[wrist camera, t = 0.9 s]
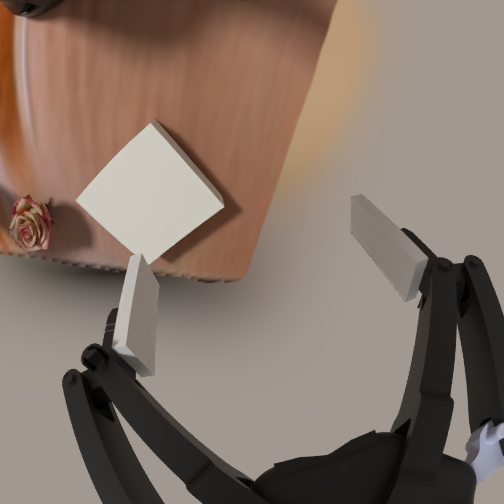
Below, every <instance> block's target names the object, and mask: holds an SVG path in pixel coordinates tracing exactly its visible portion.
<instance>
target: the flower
mask: <svg viewBox="0 0 504 504" xmlns="http://www.w3.org/2000/svg"><path fill="white" fill-rule="evenodd" d="M29 198H30V199H29ZM49 203H50V202H49ZM49 203H48V204H43V203H41V205H40V204H38V202H37V204H36V203H35V202H34V201H33V200H32V198H31V197H30V195H27V196H26V197H25V198H22V199H21V201H20V200H18V201H16V203H14V207H13V208H12V210H11V214H12V218H13V220H12V222H11V224H10V225H11V226H9V229H12V230H11V231H9V235H11V236H13V237H14V238H15V243H16V244H18V245H19V246H20V247H23V249H24V250H25V251H26V252H27V253H28V254H29V253H31V252H34V251H37V250H40V249H45V250H46V249H47V248H48V245H49V240H50V237H51V226H52V225H51V224H54V222H53V221H52V220H51V217H52V216H51V217H50V214H49V208H48V205H49ZM57 227H58V226H57ZM58 228H60V227H58Z"/></svg>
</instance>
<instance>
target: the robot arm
mask: <svg viewBox="0 0 504 504" xmlns="http://www.w3.org/2000/svg"><path fill="white" fill-rule="evenodd" d="M0 1H1V2H2V3H3V4H4V6H5V7H6V8H7V9H8V10H9V11H10V12H11V13H12V14H14V15H18V16H23V17H31V16H36V15H39V14H41V13H43V12H45V11H47V10H49V9H51V8H52V7H54V6H55V5H57V4H58V3H59V2H61V1H62V0H0ZM351 234H352V235H353V236H354V237H355V239H356V240H357V241H358V242H359V243H360V244H361V246H362V247H363V248H364V249H365V251H366V252H367V253H368V254H369V256H370V257H371V258H372V259H373V261H374V262H375V263H376V264H377V266H378V267H379V268H380V270H381V271H382V272H383V273H384V275H385V276H386V277H387V279H388V280H389V281H390V283H391V284H392V285H393V287H394V288H395V289H396V291H397V292H398V293H399V295H400V296H401V297H402V299H403V300H404V301H405V302H407V301H409V300H411V299H414V298H416V295H417V293H418V290H419V291H420V292H421V293H422V296H421V299H420V302H419V304H418V307H417V308H419V307H420V311H419V320H418V326H417V333H416V340H415V346H414V351H413V357H412V362H411V367H410V371H409V376H408V380H407V384H406V388H405V393H404V396H403V400H402V404H401V407H400V410H399V413H398V415H397V417H396V419H395V421H394V423H393V426H392V428H391V431H390V432H380V433H376V432H375V430H373V431H372V432H369V433H367V434H364V435H362V436H359V437H357V438H355V439H352V440H350V441H349V442H348V443H346V444H344V445H343V446H341V447H340V448H338V449H337V450H335V451H334V452H332V453H330V454H328V455H323V456H313V457H299V458H295V459H291V460H287V461H283V462H279V463H275V464H274V466H275V467H273V468H271V469H269V470H267V471H266V472H264V473H263V474H262V475H261V476H259V477H258V478H257V479H256V480H255V481H254V480H252V479H250V478H249V477H247V476H246V475H245V474H243V473H241V472H240V471H238V470H237V469H235V468H233V467H232V466H230V465H229V464H227V463H226V462H225V461H223V460H222V459H221V458H219V457H218V456H217V455H216V454H214V453H213V452H212V451H211V450H210V449H208V448H207V447H206V446H204V445H203V444H202V443H201V442H200V441H198V439H196V438H195V437H194V436H193V435H192V434H190V433H189V432H188V431H187V430H186V429H185V428H184V427H183V426H182V425H181V424H180V423H179V422H177V421H176V420H175V419H174V418H173V417H172V416H171V415H170V414H169V413H168V412H167V411H166V410H165V409H164V408H163V407H162V406H161V405H160V404H159V403H158V402H157V401H156V400H155V399H154V398H153V397H152V396H151V394H150V393H149V392H148V391H147V390H146V389H145V388H144V387H143V386H142V385H141V384H140V383H139V381H138V380H136V372H137V373H138V374H139V375H140V376H141V377H146V376H152V375H155V341H156V322H157V306H158V294H159V284H158V282H157V280H156V278H155V276H154V275H153V273H152V271H151V269H150V267H149V265H148V264H147V262H146V260H145V258H144V256H143V254H142V253H139V254H136V255H133V256H131V257H130V261H129V265H128V269H127V273H126V277H125V282H124V286H123V290H122V295H121V299H120V304H119V308H115V309H112V311H111V313H110V314H109V316H108V319H107V324H106V325H107V326H106V329H105V334H104V339H103V345H102V346H100V345H99V344H95V343H94V344H91V345H89V346H88V347H86V349H85V350H84V351H83V353H82V356H81V361H82V364H83V365H84V366H85V367H86V368H88V370H86V371H84V372H82V373H80V372H79V371H78V370H76V369H71V370H69V371H68V372H66V374H65V375H64V377H63V380H62V386H63V391H64V396H65V399H66V404H67V408H68V412H69V416H70V420H71V423H72V427H73V430H74V434H75V437H76V440H77V443H78V446H79V449H80V452H81V454H82V457H83V460H84V462H85V465H86V468H87V470H88V473H89V474H90V477H91V480H92V482H93V484H94V486H95V489H96V491H97V493H98V495H99V497H100V499H101V501H102V503H103V504H165V503H164V502H163V501H162V499H161V497H160V496H159V494H158V493H157V491H156V490H155V488H154V487H153V485H152V483H151V482H150V480H149V478H148V477H147V475H146V473H145V471H144V470H143V468H142V466H141V464H140V463H139V461H138V458H137V457H136V455H135V453H134V451H133V449H132V447H131V445H130V443H129V441H128V439H127V436H126V434H125V432H124V430H123V428H122V426H121V424H120V421H119V419H118V416H117V414H116V412H115V409H114V407H113V404H114V405H115V406H116V408H117V409H118V410H119V412H120V413H121V414H122V416H123V417H124V418H125V419H126V421H127V422H128V423H129V424H130V426H131V427H132V428H133V429H134V431H135V432H136V433H137V434H138V435H139V436H140V437H141V439H142V440H143V441H144V442H145V443H146V444H147V446H148V447H149V448H150V449H151V450H152V451H153V452H154V453H155V454H156V455H157V456H158V457H159V458H160V459H161V461H163V463H164V464H166V466H167V467H168V468H170V470H172V471H173V472H174V473H175V474H176V475H177V476H178V477H179V478H180V479H181V480H182V481H183V482H184V483H185V484H186V488H187V490H188V491H189V492H190V493H191V494H192V495H193V496H194V497H195V498H197V499H198V500H199V501H200V502H201V503H203V504H473V502H474V494H475V489H476V485H477V484H478V483H479V482H481V481H482V480H484V479H485V478H486V477H488V476H489V475H491V474H492V473H493V472H494V471H496V470H497V469H498V468H499V467H501V466H502V465H503V464H504V315H503V312H502V310H501V306H500V304H499V301H498V298H497V295H496V292H495V290H494V287H493V285H492V282H491V280H490V277H489V275H488V273H487V270H486V268H485V266H484V263H483V262H482V260H481V259H479V258H478V257H476V256H474V255H468V256H466V257H465V259H464V262H463V263H457V264H453V263H452V262H451V261H450V260H448V259H446V258H442V257H439V258H438V257H437V256H436V255H435V254H434V253H433V252H432V251H431V250H430V249H429V248H428V247H427V246H426V245H425V244H424V243H422V241H421V240H420V239H418V237H417V236H416V235H415V234H414V233H413V232H411V231H409V230H408V229H405V228H402V229H399V228H398V227H397V226H396V225H395V224H394V223H393V222H392V221H391V220H390V219H389V218H388V217H387V216H385V215H384V214H383V213H382V212H381V211H380V210H379V209H378V208H377V207H376V206H374V205H373V204H372V203H371V202H370V201H369V200H367V199H366V198H365V197H364V196H363V195H362V194H360V195H356V196H352V197H351ZM457 325H458V330H459V335H460V340H461V346H462V352H463V358H464V366H465V374H466V382H467V395H468V412H469V424H470V430H471V434H472V435H471V436H470V438H469V441H468V442H467V444H466V448H465V449H466V451H467V452H468V454H467V458H466V460H465V462H464V461H462V460H459V459H456V458H453V457H451V456H448V455H446V454H443V450H444V446H445V443H446V439H447V435H448V431H449V426H450V422H451V417H452V413H453V406H454V401H453V399H452V398H451V397H450V393H451V386H452V379H453V371H454V361H455V349H456V330H457ZM112 402H113V404H112Z"/></svg>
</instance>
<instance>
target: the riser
mask: <svg viewBox="0 0 504 504" xmlns="http://www.w3.org/2000/svg"><path fill="white" fill-rule="evenodd" d="M76 201H77V202H78V203H79V204H80V205H81V206H82V207H83V208H84V209H85V210H86V211H87V212H88V213H89V214H90V215H91V216H92V217H93V218H95V219H96V220H97V221H98V222H99V223H100V224H101V225H102V226H103V227H104V228H105V229H106V230H108V231H109V232H110V233H111V234H112V235H113V236H114V237H115V238H116V239H118V240H119V241H120V242H121V243H122V244H123V245H124V246H126V247H127V248H128V249H129V250H130V251H131V252H132V253H134V254H135V255H136V254H139V253H142V254H143V256H144V258H145V260H146V262H147V264H148V265H149V264H150V263H152V262H153V261H154V260H155V259H156V258H158V257H159V256H160V255H162V254H163V253H164V252H165V251H167V250H168V249H169V248H170V247H172V246H173V245H174V244H176V243H177V242H178V241H179V240H181V239H182V238H183V237H185V236H186V235H187V234H189V233H190V232H191V231H192V230H194V229H195V228H196V227H198V226H199V225H200V224H202V223H203V222H204V221H206V220H207V219H208V218H210V217H211V216H213V215H214V214H215V213H217V212H218V211H219V210H221V209H222V208H223V207H224V202H223V198H222V195H221V194H220V193H219V192H218V190H217V189H216V188H215V187H214V186H213V185H212V183H211V182H210V181H209V180H208V179H207V178H206V177H205V175H204V174H203V173H202V172H201V171H200V170H199V168H198V167H197V166H196V165H195V164H194V163H193V162H192V160H191V159H190V158H189V157H188V156H187V155H186V153H185V152H184V151H183V150H182V149H181V148H180V147H179V145H178V144H177V143H176V142H175V141H174V140H173V139H172V137H171V136H170V135H169V134H168V133H167V132H166V131H165V130H164V128H163V127H162V126H161V125H160V124H159V123H158V122H157V120H156V119H155V120H154V121H152V122H151V123H150V124H149V125H148V126H147V127H146V128H144V129H143V130H142V131H141V132H140V133H139V134H138V135H137V136H136V137H135V138H134V139H133V140H131V141H130V142H129V143H128V144H127V145H126V146H125V147H124V148H123V149H122V150H121V151H120V152H119V153H118V154H117V155H116V156H115V157H114V158H113V159H112V160H111V161H110V162H109V163H108V164H107V165H106V167H105V168H104V169H103V170H102V171H101V172H100V173H99V174H98V175H97V176H96V177H95V179H94V180H93V181H92V182H91V183H90V184H89V185H88V186H87V188H86V189H85V190H84V191H83V192H82V194H81V195H80V196H79V197H78V198H77V200H76Z"/></svg>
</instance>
